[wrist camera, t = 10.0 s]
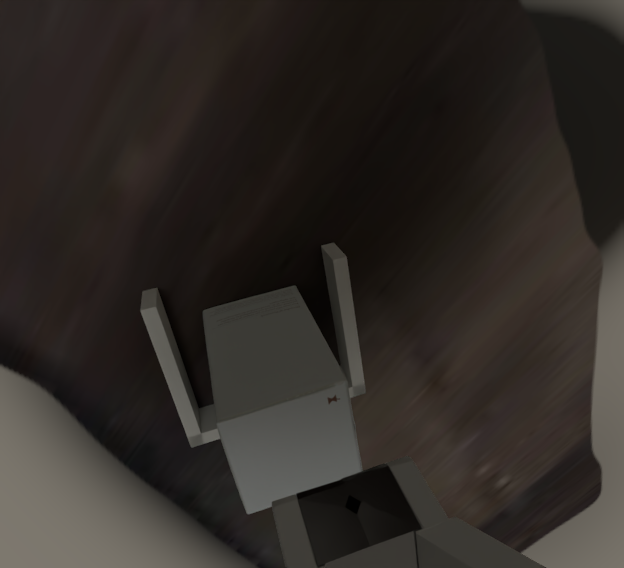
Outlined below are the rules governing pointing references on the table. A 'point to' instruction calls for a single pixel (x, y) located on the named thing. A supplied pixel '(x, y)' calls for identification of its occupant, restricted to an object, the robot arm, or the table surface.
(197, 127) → the table surface
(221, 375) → the supplement box
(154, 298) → the bay
